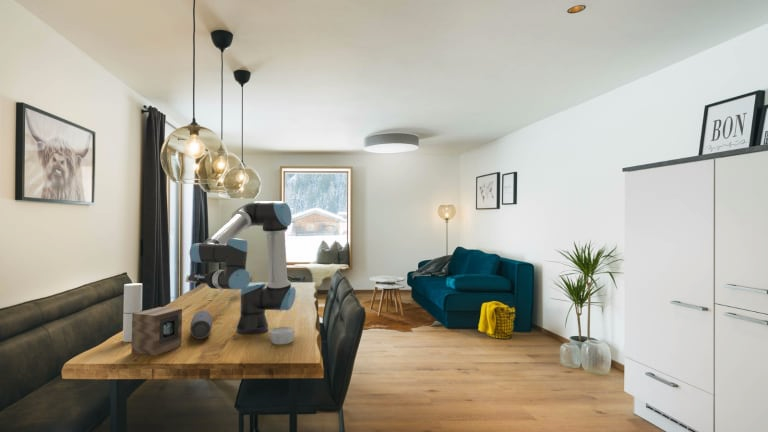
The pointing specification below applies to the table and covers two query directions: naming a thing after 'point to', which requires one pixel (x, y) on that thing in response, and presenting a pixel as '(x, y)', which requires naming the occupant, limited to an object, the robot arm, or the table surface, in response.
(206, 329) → the bluetooth speaker
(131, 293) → the cylindrical container
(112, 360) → the table surface
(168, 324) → the peg
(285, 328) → the ramekin
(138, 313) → the housing
